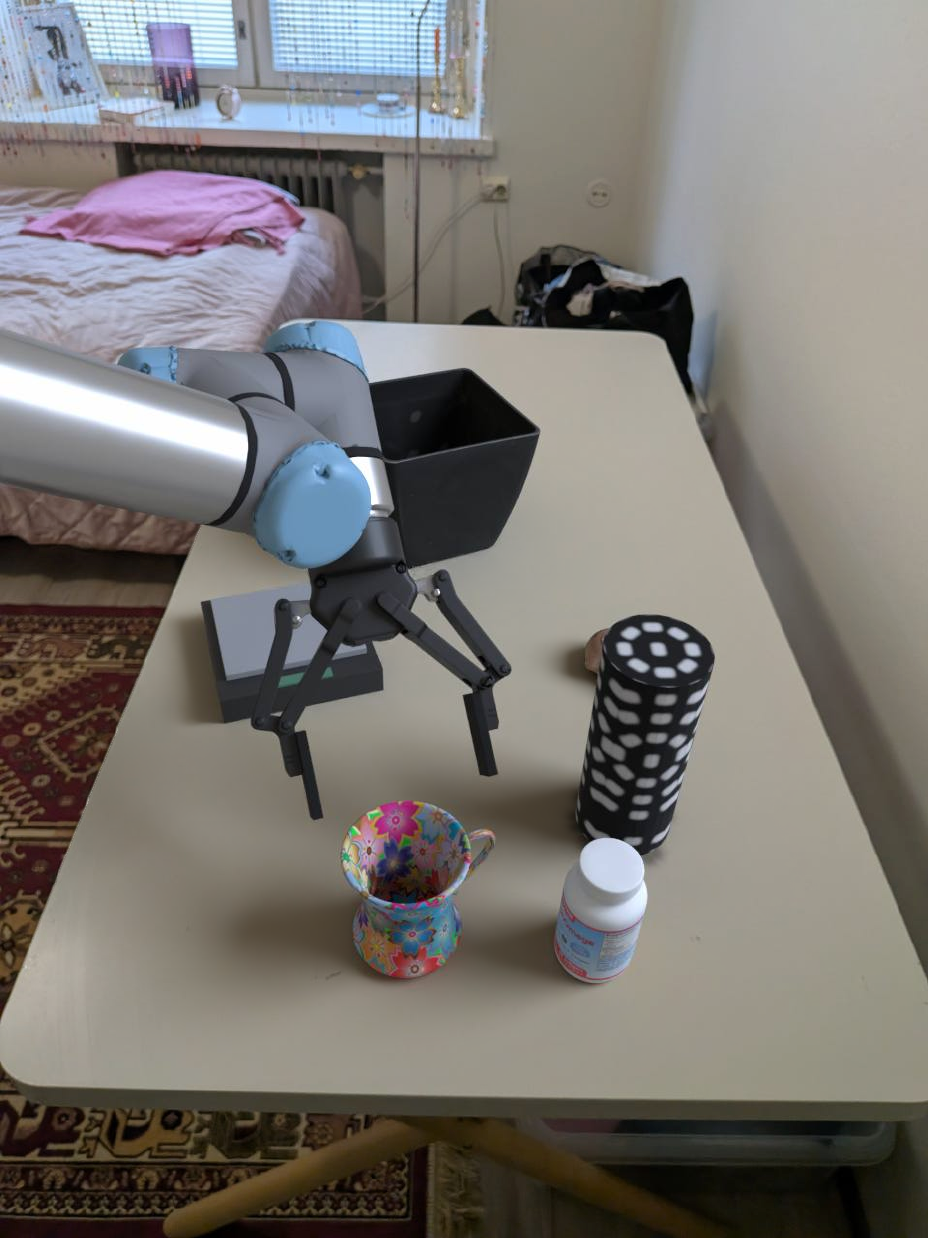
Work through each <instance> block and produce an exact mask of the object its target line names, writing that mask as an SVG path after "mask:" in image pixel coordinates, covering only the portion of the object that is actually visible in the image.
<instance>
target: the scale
mask: <svg viewBox="0 0 928 1238" xmlns="http://www.w3.org/2000/svg"><path fill="white" fill-rule="evenodd" d="M282 598H284V599H287V600H289V601H300V600H310V598H311V584H310V581H309V582H303V583H297V584H292V585H286V586H280V587H274V588H269V589H262V590H258V591H251V592H246V593H241V594H240V593H239V594H235V595H229V596H228V595H227V596H223V597H216V598H211V599H207V600H201V601H200V606H201V612H202V617H203V622H204V627H205V628H204V629H205V632H206V633H205V634H206V637H207V642H208V649H209V653H210V659H211V664H212V669H213V674H214V680H215V684H216V689H217V695H218V700H219V705H220V711H221V715H222V720H223V723H224V724H228V723H232V722H237V721H242V720H246V719H251V718H252V714H253V711H254V707H255V703H256V700H257V696H258V693H259V689H260V686H261V682H262V679H263V675H264V671H265V668H266V664H267V661H268V657H269V654H270V650H271V646H272V643H273V639H274V636H275V622H274V607H275V604H276V602H277V601H278V600H279V599H282ZM326 632H327V630H326V629H325V628H324V627H323V626H322V625H321V624H320V623H319V622H318V621H316V620H315V619H314V618H313V617H312V616H311V614H307V615H305V616H304V618H303V622H302V624H301V626H300V627H299V628H297V629H293V634H292V639H291V643H290V646H289V650H288V653H287V657H286V661H285V664H284V668H283V672H282V675H281V679H280V682H279V686H278V690H277V693H276V697H275V700H274V704H273V708H272V711H271V714H276V713H281V712H283V710H284V708H285V707H286V705H287V703H288V701H289V699H290V698H291V696H292V694H293V692H294V690H295V689H296V687H297V685H298V683H299V681H300V680H301V678H302V676H303V674H304V672H305V671H306V669H307V667H308V665H309V663H310V662H311V660H312V658H313V656H314V654H315V653H316V651H317V649H318V647H319V645H320V643H321V641H322V639H323V638H324V636H325V634H326ZM384 686H385V685H384V668H383V665H382V663H381V660H380V658H379V655H378V652H377V650H376V647H375V645H374V641H369V642H367V643H365V644H363V645H361V646H357V647H351V646H346V645H344V644H342V643H341V644H340V646H339V648H338V650H337V652H336V653H335V655H334V656H333V658H332V660H331V662H330V664H329V665H328V667H327V669H326V671H325V673H324V675H323V676H322V678H321V680H320V682H319V684H318V685H317V687H316V689H315V691H314V693H313V695H312V696H311V698H310V700H309V702H308V704H307V705H306V707H309V706H313V705H319V704H323V703H327V702H332V701H337V700H341V699H346V698H351V697H356V696H360V695H365V694H370V693H375V692H379V691H384V688H385V687H384Z"/></svg>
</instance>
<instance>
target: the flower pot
mask: <svg viewBox="0 0 928 1238" xmlns="http://www.w3.org/2000/svg"><path fill="white" fill-rule="evenodd" d="M369 390H370V395H371V400H372V405H373V411H374V416H375V421H376V426H377V431H378V436H379V441H380V446H381V451H382V457H383V461H384V465H385V469H386V474H387V478H388V483H389V487H390V492H391V496H392V501H393V505H394V510H393V512H392V513H391V514H390V515H389V516H388V517H389V518H392V519H393V520H394V521H395V522H397V524H398V529H399V533H400V538H401V543H402V547H403V552H404V557H405V561H406V566H407V568H412V567H416V566H421V565H423V564H429V563H431V562H436V561H440V560H444V559H449V558H452V557H456V556H461V555H464V554H468V553H472V552H476V551H480V550H484V549H489V548H491V547H493V546H495V544H496V542H497V541H498V540H499V538H500V536H501V534H502V532H503V530H504V528H505V527H506V525H507V522H508V521H509V519H510V517H511V514H512V513H513V510H514V508H515V506H516V504H517V502H518V499H519V498H520V495H521V493H522V490H523V488H524V485H525V482H526V481H527V477H528V475H529V473H530V469H531V466H532V463H533V460H534V457H535V454H536V450H537V447H538V443H539V438H540V435H541V428H540V427H539V426H538V425H536V424H535V423H534V422H533V421H532V420H531V419H530V418H528V417H527V416H526V415H525V414H524V413H522V412H521V411H520V410H519V409H518V408H517V407H516V406H515V405H513V404H512V403H511V402H509V401H508V400H507V398H505V397H504V396H503V395H501V394H500V392H498V391H497V390H496V389H495V388H493V386H491V385H490V384H489V383H488V382H487V381H485V379H483V377H481V376H480V375H478V373H476V372H475V371H474V370H472V369H471V368H468V367H458V368H452V369H445V370H439V371H432V372H428V373H422V374H421V373H420V374H415V375H410V376H403V377H397V378H391V379H385V380H380V381H373V382H369Z"/></svg>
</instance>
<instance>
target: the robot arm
mask: <svg viewBox="0 0 928 1238" xmlns="http://www.w3.org/2000/svg"><path fill="white" fill-rule="evenodd" d="M369 383H370V379H369V377H368V374H367V372H366V369H365V365H364V361H363V357H362V353H361V351H360V348H359V345H358V341H357V339H356V337H355V335H354V334H353V332H352V331H351V330H350V329H349V328H347V327H345V326H344V325H343V324H340V323H337V322H334V321H330V320H313V321H310V322H307V323H306V322H305V323H304V322H295V323H291V324H288V325H286V326H283V327H281V328H279V329H277V330H275V331H274V332H272V333H271V334H270V335H269V336H268V337H267V338H266V339H265V342H264V343H263V346H262V352H248V351H236V350H235V351H234V350H219V349H206V348H205V349H204V348H189V347H178V345H176V344H172V345H170V346H151V347H150V346H148V347H147V346H146V347H144V346H143V347H134V348H130V349H128V350H126V351H125V352H123V354H122V355H121V356H120V357H119V359H118V361H117V363H113V362H110V361H108V360H104V359H101V358H97V357H95V356H91V355H89V354H86V353H83V352H79V351H75V350H72V349H70V348H66V347H63V346H60V345H58V344H54V343H51V342H49V341H44V340H41V339H38V338H35V337H32V336H29V335H25V334H22V333H19V332H16V331H13V330H10V329H6V328H4V327H0V486H4V487H9V488H13V489H19V490H25V491H30V492H35V493H40V494H45V495H50V496H53V497H60V498H65V499H70V500H75V501H80V502H85V503H90V504H96V505H100V506H106V507H111V508H116V509H121V510H126V511H131V512H135V513H141V514H146V515H151V516H156V517H162V518H165V519H166V518H167V519H170V520H171V519H172V520H176V521H177V520H178V521H182V522H186V523H187V522H188V523H193V524H198V525H203V526H208V527H212V528H216V529H221V530H225V531H230V532H233V533H234V532H235V533H239V534H244V535H248V536H249V537H252V538H254V539H255V542H256V543H257V545H258V547H259V548H260V549H262V550H263V551H264V552H267V553H268V554H271V555H272V556H273V557H275V558H276V559H278V561H280V562H281V563H283V564H284V565H286V566H289V567H293V568H295V569H301V570H302V569H303V570H304V569H305V570H307V574H308V579H309V582H310V584H311V598H310V600H300V601H289V600H287V599H284V598H282V599H279V600H278V601H277V602H276V604H275V607H274V622H275V636H274V639H273V643H272V646H271V650H270V654H269V657H268V661H267V664H266V668H265V671H264V675H263V679H262V682H261V686H260V689H259V693H258V696H257V700H256V703H255V707H254V711H253V714H252V717H251V718H250V725H251V727H252V729H254V730H255V731H262V732H269V733H273V734H275V735H276V736H277V738H278V740H279V746H280V751H281V757H282V760H283V765H284V771H285V772H286V774H287V775H288V776H289V778H294V777H299V776H301V779H302V783H303V789H304V794H305V798H306V802H307V808H308V813H309V818H310V819H312V821H317V820H321V819H324V813H323V807H322V803H321V797H320V792H319V788H318V783H317V778H316V773H315V768H314V763H313V759H312V753H311V749H310V744H309V739H308V733H307V730H305V729H304V730H299V731H296V725H297V723H298V722H299V720H300V718H301V716H302V714H303V713H304V711H305V709H306V707H307V706H306V705H307V704H308V702H309V700H310V698H311V696H312V695H313V693H314V691H315V689H316V687H317V685H318V684H319V682H320V680H321V678H322V676H323V675H324V673H325V671H326V669H327V667H328V665H329V664H330V662H331V660H332V658H333V656H334V655H335V653H336V652H337V650H338V648H339V646H340V644H341V643H342V644H344V645H346V646H351V647H357V646H361V645H363V644H365V643H367V642H369V641H372V642H379V643H381V642H386V641H390V640H393V639H394V638H396V637H397V636H399V635H401V636H402V637H404V638H405V639H407V640H408V641H410V642H412V643H414V644H415V645H416V646H417V647H418V648H419V649H421V650H422V651H423V652H425V653H426V654H427V655H428V656H430V657H431V658H432V659H433V660H435V661H436V662H437V663H439V664H440V665H441V666H442V667H443V668H445V669H446V670H447V671H448V672H450V673H451V674H453V675H454V676H455V678H457V679H459V680H460V681H461V682H462V683H464V684H465V685H466V686H467V687H469V688H470V689H471V691H472V692H470V693H465V694H462V700H463V705H464V708H465V714H466V717H467V723H468V728H469V733H470V737H471V742H472V746H473V751H474V755H475V760H476V764H477V770H478V774H479V776H482V777H488V778H490V777H494V776H495V777H496V776H498V775H499V773H498V767H497V763H496V759H495V753H494V748H493V745H492V739H491V734H490V731H494V730H499V725H500V722H499V716H498V711H497V706H496V702H495V701H496V700H495V697H494V691H493V690H494V686H495V684H497V683H498V682H500V681H501V680H502V679H504V678H505V677H508V676H510V675H511V673H512V670H513V669H512V665H511V663H510V662H509V661H508V660H507V658H506V657H505V656H504V655H503V653H502V651H500V649H499V648H498V647H497V645H496V644H495V643H494V641H493V640H492V639H491V638H490V636H489V635H488V633H486V631H485V630H484V629H483V627H482V626H481V625H480V623H479V621H477V620H476V618H475V617H474V616H473V614H472V613H471V612H470V611H469V609H468V608H467V606H466V605H465V604H464V603H463V601H462V600H461V598H459V596H458V595H457V592H456V590H455V589H456V588H455V586H454V584H453V580H452V577H451V575H450V573H449V571H447V570H446V569H439V570H437V571H436V572H434V573H433V574H432V575H428V576H425V577H421V578H418V579H415V580H414V578H413V577H412V576H411V574H410V572H409V570H408V567H407V566H406V561H405V557H404V552H403V547H402V543H401V538H400V533H399V529H398V524H397V522H395V521H394V520H393V519H392V518H389V517H388V516H389V515H390V514H391V513H392V512H393V510H394V505H393V501H392V496H391V492H390V487H389V483H388V478H387V474H386V469H385V465H384V461H383V457H382V451H381V446H380V441H379V436H378V431H377V426H376V421H375V416H374V411H373V405H372V400H371V395H370V390H369ZM418 595H422V596H423V597H425V599H426V601H427V602H429V603H435V605H436V607H437V609H438V610H439V611H440V613H441V614H442V615H443V617H444V618H445V620H446V621H447V622H448V623H449V624H450V626H451V627H452V629H453V630H454V631H455V632H456V633H457V635H458V637H460V639H461V640H462V641H463V642H464V644H465V645H466V646H467V647H468V649H469V650H470V652H471V653H472V654H473V656H474V657H475V658H476V659H477V661H478V662H479V663H480V664H481V666H482V667H483V668H484V669H482V668H481V667H479V666H478V665H477V664H475V663H474V662H473V661H471V660H470V658H467V656H465V655H464V654H463V653H462V652H460V651H459V650H457V649H456V648H455V647H454V646H453V645H452V644H450V643H449V642H448V641H447V640H445V639H444V638H443V637H441V636H440V635H439V634H437V633H436V632H435V631H434V630H433V629H431V628H430V627H429V626H428V624H427V623H426V622H425V621H424V620H422V619H421V618H420V617H419V616H418V615H417V614H415V613H414V612H412V609H413V607H414V604H415V602H416V600H417V598H418ZM307 614H311V616H312V617H313V618H314V619H315V620H316V621H318V622H319V623H320V624H321V625H322V626H323V627H324V628H325V629H326V630H327V632H326V634H325V636H324V638H323V639H322V641H321V643H320V645H319V647H318V649H317V651H316V653H315V654H314V656H313V658H312V660H311V662H310V663H309V665H308V667H307V669H306V671H305V672H304V674H303V676H302V678H301V680H300V681H299V683H298V685H297V687H296V689H295V690H294V692H293V694H292V696H291V698H290V699H289V701H288V703H287V705H286V707H285V708H284V710H283V711H281V714H280V715H275V714H274V715H273V714H272V713H271V711H272V708H273V704H274V700H275V697H276V693H277V690H278V686H279V682H280V679H281V675H282V672H283V668H284V664H285V661H286V657H287V653H288V650H289V646H290V643H291V639H292V634H293V629H297V628H299V627H300V626H301V624H302V622H303V618H304V616H305V615H307Z"/></svg>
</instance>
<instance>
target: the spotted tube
mask: <svg viewBox="0 0 928 1238" xmlns="http://www.w3.org/2000/svg"><path fill="white" fill-rule="evenodd" d="M608 628H609V629H608V631H607V633H606V634H605V637H604V641H603V647H602V653H601V659H600V665H599V671H598V674H597V678H596V682H595V683H596V684H595V688H594V689H595V690H594V696H593V701H592V709H591V715H590V720H589V725H588V732H587V738H586V744H585V750H584V755H583V757H584V758H583V763H582V769H581V775H580V781H579V788H578V792H577V799H576V805H575V820H576V824H577V826H578V828H579V830H580V833H581V834H582V835H583V836H584V837H585V839H586V840H587V841H588V842H589V843H590V842H591V841H594V840H596V839H600V838H614V839H618V840H621V841H623V842H625V843H627V844H629V845H630V846H632V847H633V848H634V849H635V850H636V851H637V852H638V854H639V855H640V856H643V855H648V854H649V853H652V852H654V851H656V850H657V849H658V848H660V846H662V845H663V843H664V842H665V841H666V840H667V837H668V835H669V832H670V830H671V829H670V828H671V825H672V821H673V818H674V813H675V810H676V806H677V803H678V799H679V795H680V792H681V789H682V784H683V781H684V778H685V773H686V769H687V766H688V762H689V758H690V755H691V752H692V748H693V744H694V740H695V737H696V734H697V729H698V726H699V721H700V718H701V714H702V711H703V706H704V703H705V700H706V695H707V692H708V688H709V685H710V680H711V677H712V673H713V670H714V666H715V660H716V655H715V649H714V648H713V646H712V643H711V641H709V639H708V638H707V636H706V635H704V634H703V633H702V632H701V631H700V630H699V629H697V628H695V627H694V626H693V625H691V624H689V623H687V622H685V621H683V620H680V619H677V618H674V617H672V616H669V615H668V616H667V615H663V614H652V613H646V614H645V613H643V614H636V615H635V614H634V615H631V616H627V617H624V618H621V619H620V620H618V621H616V622H615V623H614V624H612V625H611V626H610V627H608Z"/></svg>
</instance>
